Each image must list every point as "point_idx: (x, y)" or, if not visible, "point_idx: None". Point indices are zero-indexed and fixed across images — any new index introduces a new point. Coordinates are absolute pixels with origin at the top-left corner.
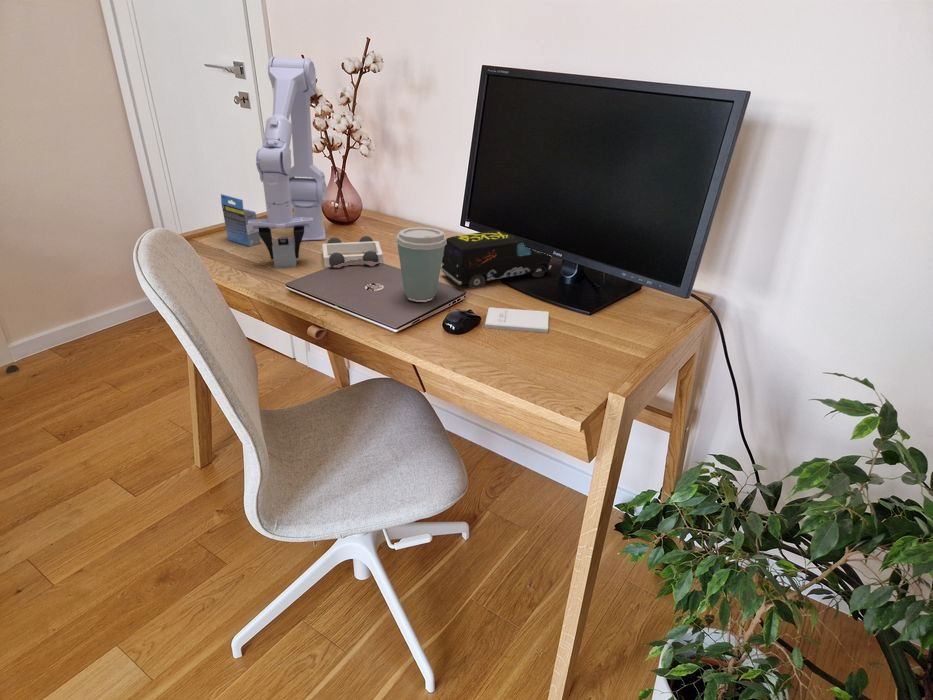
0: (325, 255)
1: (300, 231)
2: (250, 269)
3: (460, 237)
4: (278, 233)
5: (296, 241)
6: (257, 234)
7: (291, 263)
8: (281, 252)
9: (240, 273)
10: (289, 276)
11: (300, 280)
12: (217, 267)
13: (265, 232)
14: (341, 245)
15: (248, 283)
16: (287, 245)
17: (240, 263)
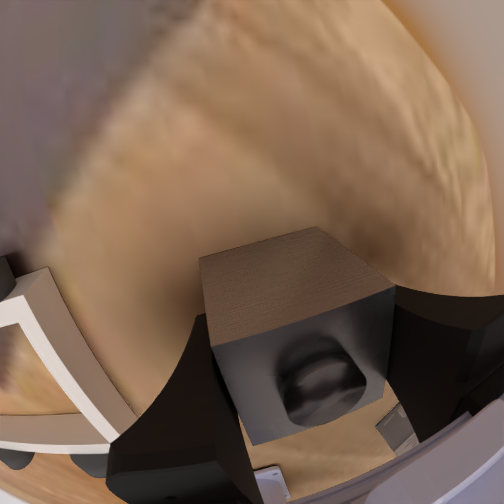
0: (32, 329)
1: (128, 475)
2: (413, 202)
3: None
4: (329, 474)
5: (196, 386)
6: (394, 441)
7: (227, 259)
8: (307, 278)
9: (438, 154)
10: (202, 102)
11: (123, 52)
12: (488, 219)
13: (489, 354)
14: (61, 440)
15: (385, 30)
16: (272, 328)
17: (442, 265)
